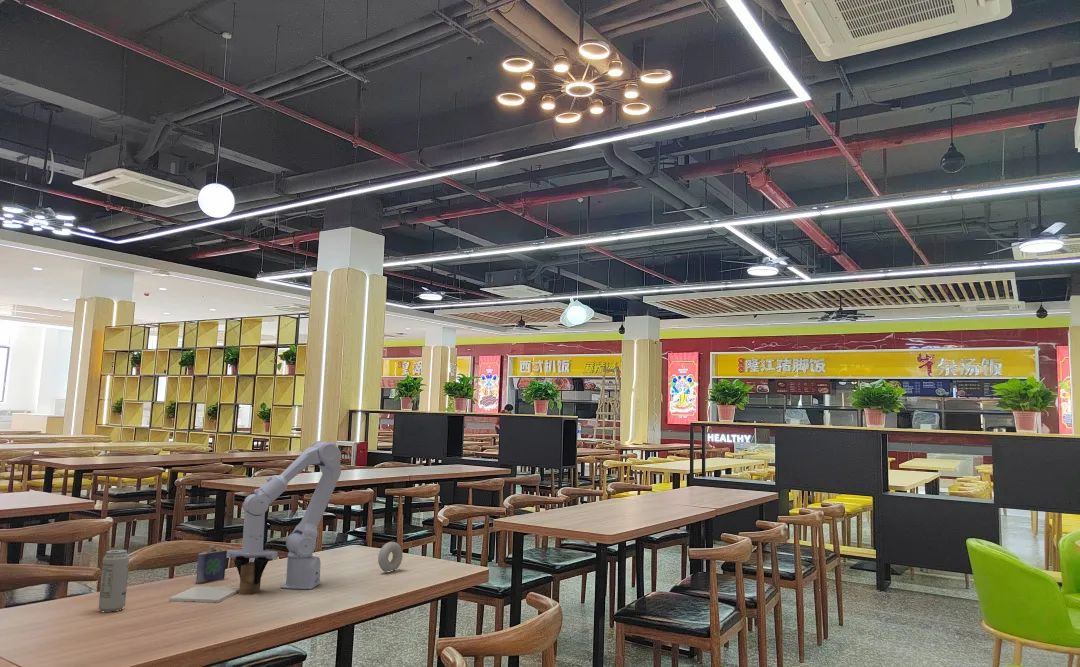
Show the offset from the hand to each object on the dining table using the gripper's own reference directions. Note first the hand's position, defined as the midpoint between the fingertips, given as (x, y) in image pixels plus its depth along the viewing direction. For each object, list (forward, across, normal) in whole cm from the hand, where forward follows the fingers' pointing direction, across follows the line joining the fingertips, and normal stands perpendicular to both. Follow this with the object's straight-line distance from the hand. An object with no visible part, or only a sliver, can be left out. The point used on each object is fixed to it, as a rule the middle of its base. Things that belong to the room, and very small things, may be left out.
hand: (250, 583), depth 212 cm
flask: (+3, -18, +12) cm, 22 cm away
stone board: (+2, -10, -6) cm, 12 cm away
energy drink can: (+3, -26, -24) cm, 35 cm away
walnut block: (+2, 0, 0) cm, 2 cm away
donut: (+3, +33, +33) cm, 47 cm away
